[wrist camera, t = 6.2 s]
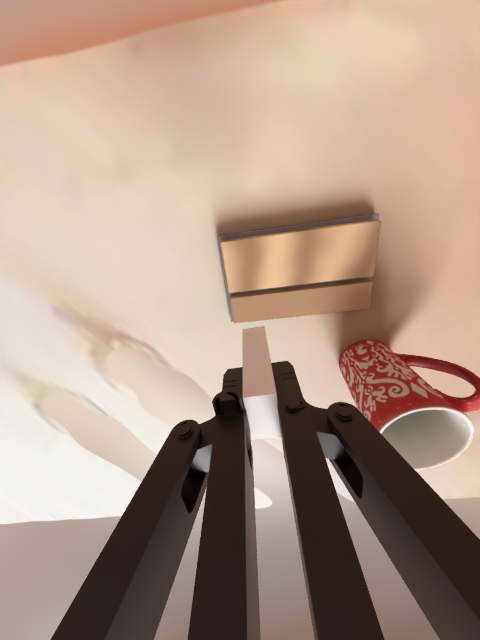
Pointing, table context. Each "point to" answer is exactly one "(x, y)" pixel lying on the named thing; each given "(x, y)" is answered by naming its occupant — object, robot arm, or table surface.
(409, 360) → the mug
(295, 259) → the plank
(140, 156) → the table surface
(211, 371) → the table surface
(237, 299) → the floor panel
